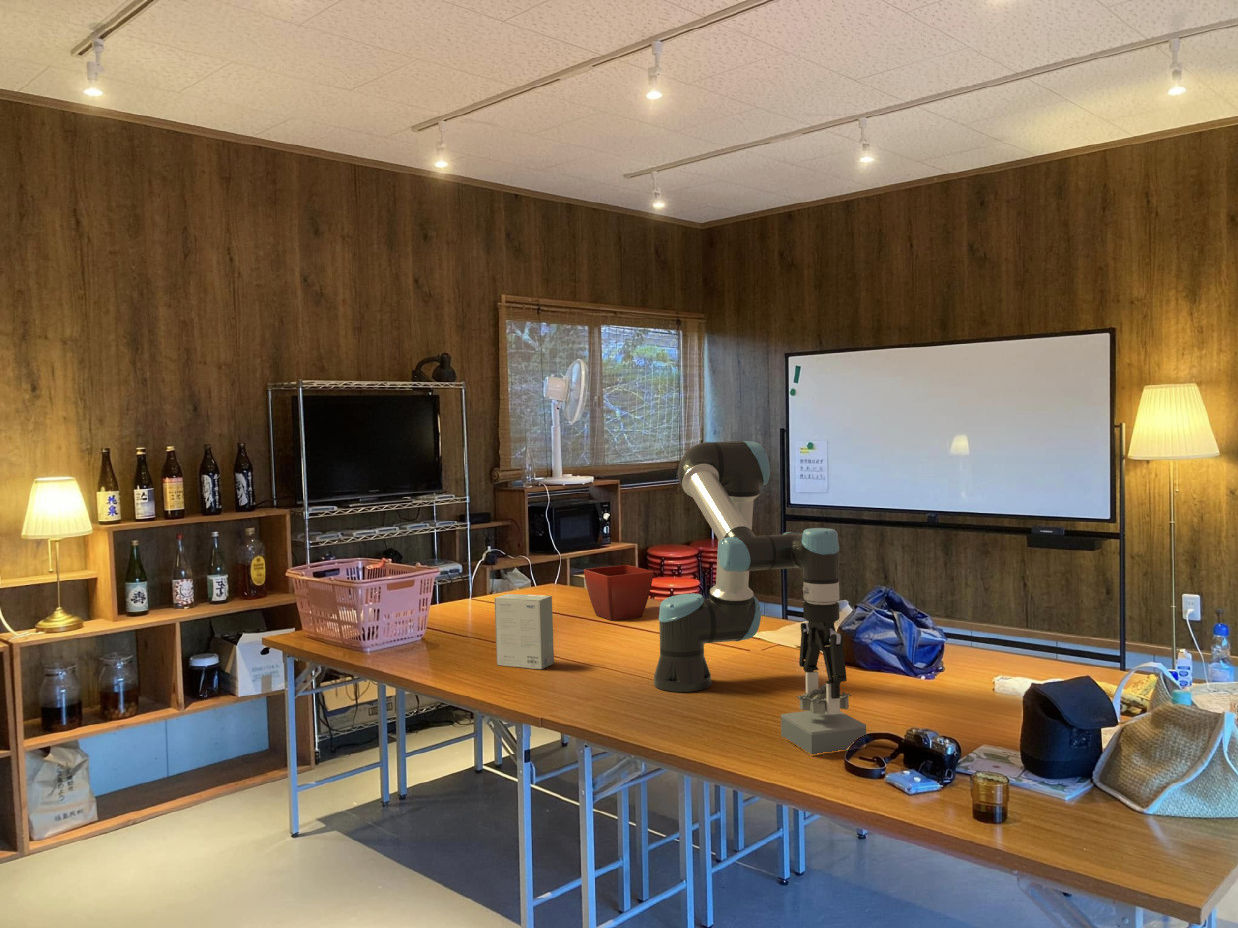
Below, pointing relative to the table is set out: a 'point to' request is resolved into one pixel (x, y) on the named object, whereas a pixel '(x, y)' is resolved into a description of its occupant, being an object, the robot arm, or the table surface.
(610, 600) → the plant pot
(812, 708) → the egg carton
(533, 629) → the hard drive box
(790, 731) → the plinth
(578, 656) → the table surface
